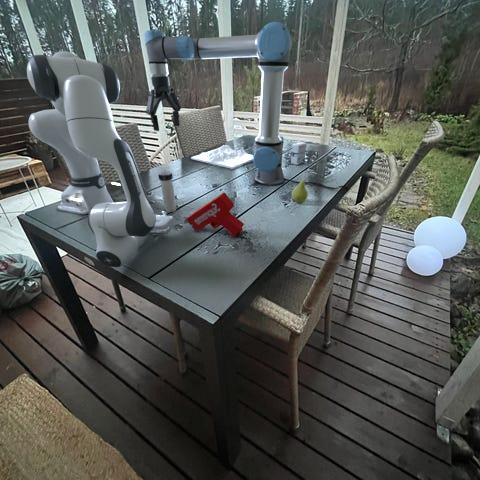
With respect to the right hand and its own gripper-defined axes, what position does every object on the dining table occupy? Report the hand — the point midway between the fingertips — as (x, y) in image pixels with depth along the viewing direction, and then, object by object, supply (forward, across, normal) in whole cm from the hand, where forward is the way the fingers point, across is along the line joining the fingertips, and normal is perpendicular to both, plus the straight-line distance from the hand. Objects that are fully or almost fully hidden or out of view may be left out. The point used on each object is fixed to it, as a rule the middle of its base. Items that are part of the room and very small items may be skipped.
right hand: (167, 128), depth 128 cm
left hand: (+21, +39, +26) cm, 51 cm away
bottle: (+27, +25, +21) cm, 42 cm away
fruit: (+27, -10, +65) cm, 71 cm away
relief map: (+27, -49, -1) cm, 56 cm away
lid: (+11, +25, +21) cm, 34 cm away
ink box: (+27, -64, +44) cm, 82 cm away
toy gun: (+27, +30, +48) cm, 63 cm away
